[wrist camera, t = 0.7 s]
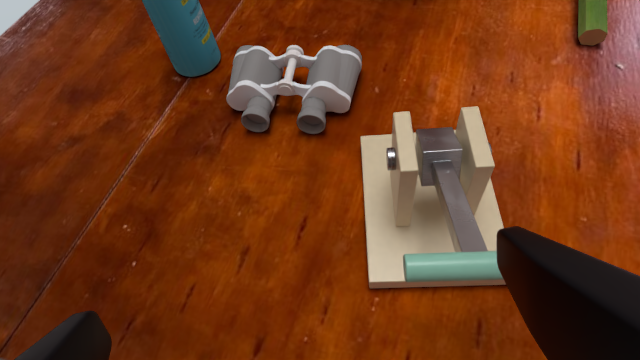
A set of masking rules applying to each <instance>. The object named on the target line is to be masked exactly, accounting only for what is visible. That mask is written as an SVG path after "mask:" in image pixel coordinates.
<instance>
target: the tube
mask: <svg viewBox="0 0 640 360" xmlns="http://www.w3.org/2000/svg"><path fill="white" fill-rule="evenodd" d="M142 1H143V3H144V6H145V8H146V10H147V12H148V14H149V16H150V18H151V20H152V22H153V24H154V27H155V29H156V31H157V33H158V35H159V37H160V39H161V41H162V43H163V46H164V48H165V50H166V52H167V54H168V56H169V58H170V60H171V62H172V64H173V66H174V68H175V70H176V71H177V72H178V73H179V74H181V75H183V76H189V77H195V76H199V75H203V74H206V73H208V72H210V71H211V70H212V69H213V68H214V67H215V66H216V65H217V64H218V63H219V61H220V58H221V54H220V51H219V48H218V46H217V43H216V41H215V38H214V36H213V34H212V31H211V29H210V26H209V24H208V22H207V19H206V17H205V15H204V12H203V10H202V8H201V5H200V3H199V1H198V0H142Z"/></svg>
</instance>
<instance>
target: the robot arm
mask: <svg viewBox="0 0 640 360" xmlns="http://www.w3.org/2000/svg"><path fill="white" fill-rule="evenodd" d="M497 265H498V268H499V271H500V273H501V275H502V277H503V279H504V281H505V283H506V285H507V287H508V289H509V291H510V293H511V295H512V297H513V299H514V301H515V303H516V305H517V307H518V309H519V311H520V313H521V315H522V317H523V319H524V321H525V323H526V325H527V327H528V329H529V331H530V332H531V334H532V336H533V337H534V339H535V341H536V342H537V344H538V345H539V347H540V349H541V350H542V352H543V353H544V355H545V356H546V358H547V359H548V360H640V276H638V275H636V274H633V273H631V272H628V271H626V270H624V269H621V268H619V267H616V266H614V265H611V264H609V263H607V262H604V261H602V260H599V259H597V258H594V257H592V256H589V255H587V254H585V253H582V252H580V251H577V250H575V249H572V248H570V247H568V246H565V245H563V244H560V243H558V242H555V241H553V240H551V239H548V238H546V237H543V236H541V235H538V234H536V233H533V232H531V231H529V230H526V229H524V228H521V227H518V226H513V227H508V228H503V229H500V230H499V231H498V232H497ZM111 345H112V342H111V337H110V334H109V333H108V331H107V329H106V328H105V326H104V324H103V323H102V321H101V319H100V318H99V316H98V314H97V313H96V312H94V311H85V312H80V313H76V314H73V315H72V316H70V317H69V318H68V319H66V320H65V321H64V322H62V323H61V324H60V325H59V326H57V327H56V328H55V329H53V330H52V331H51V332H49V333H48V334H47V335H46V336H44V337H43V338H42V339H40V340H39V341H38V342H36V343H35V344H34V345H33V346H31V347H30V348H29V349H27V350H26V351H25V352H23V353H22V354H21V355H20V356H18V357H17V358H16V359H14V360H109V355H110V351H111Z"/></svg>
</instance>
